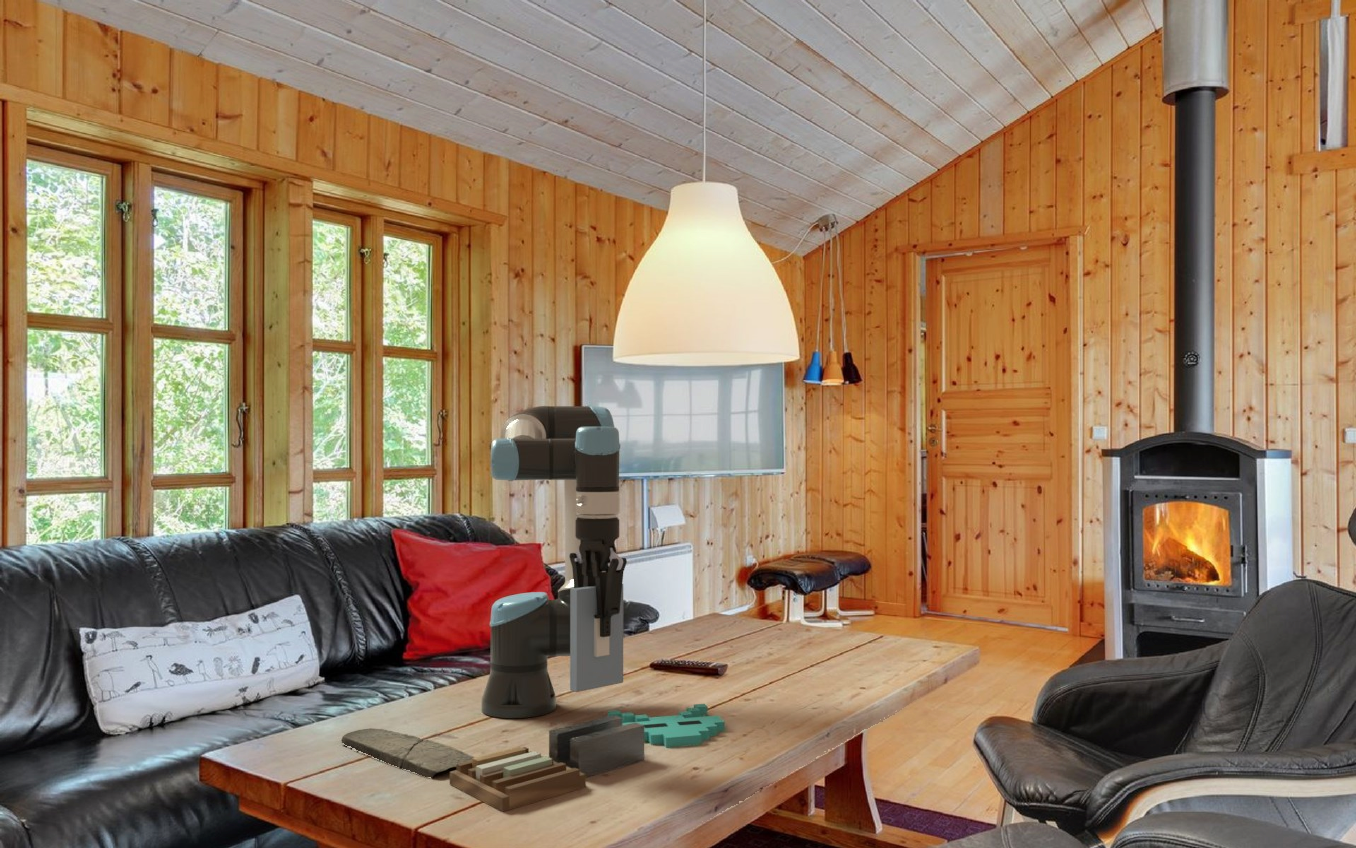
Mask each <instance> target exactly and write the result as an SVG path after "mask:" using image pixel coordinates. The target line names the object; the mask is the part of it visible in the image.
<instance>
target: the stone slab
mask: <svg viewBox="0 0 1356 848" xmlns="http://www.w3.org/2000/svg"><path fill="white" fill-rule="evenodd" d="M340 742H341V743H344V744H345V745H347V746H351V747H352V748H355V749H356V750H358V751H361V752H363V753H366V754H368V755H371V756H373V757H374V758H377V759H379V760H382V761H384V762H386V763H389V764H391V765H390V766H392V765H394V766H397V767H402V768H403V769H406V770H410V771H411V772H415V773H417V774H419V775H422V776H425V777H431V778H434V776H435V775H436V774H438V773H441V772H444V771H447V770H450V769H452V768H456V766H457V764H458V763H462V762H466V761H470V760H472V758H476V756H475V757H474V756H473V755H469V754H468V753H465V752H463V751H461V750H458V749H457V748H455V747H452V746H450V745H447V744H444V743H440V742H437V741H434V740H430V739H422V738H420V737H418V736H415V735H410V734H407V733H401V732H396V731H392V730H388V729H383V728H381V729H380V728H372V727H371V728H364V729H358V730H354V731H350V732H347V733H345V734H344V735H343V736H342V737H341V741H340ZM386 763H385V764H386ZM394 766H393V767H394ZM397 767H396V768H397ZM402 768H401V769H402ZM403 769H402V770H403ZM406 770H405V771H406ZM411 772H410V773H411ZM417 774H416V775H417ZM419 775H418V776H419ZM422 776H421V777H422ZM425 777H424V778H425Z"/></svg>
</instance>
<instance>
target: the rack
mask: <svg viewBox="0 0 1356 848" xmlns="http://www.w3.org/2000/svg"><path fill="white" fill-rule="evenodd" d="M522 748H524V749H526V753H529V752H532V751H529V750H530V749H529V748H528V747H526V746H523V747H522ZM536 752H537V753H540V752H538V751H536ZM540 754H541V753H540ZM542 757H544V756H543V755H542V754H541V758H542ZM547 757H548V758H550V757H549V756H547ZM551 759H552V765H550V766H546V767H543V768H539V769H535V770H532V771H528V772H524V773H520V774H517V775H513V776H509V777H506V778H503V769H502V770H498V771H494V772H490V773H486V774H482V775H480V781H478V780H476V768H472V760H470V761H466V762H462V763H458V764H457V766H456V767H455V768H456V769H455V770H452V771H449V785H450V784H451V785H450V786H452V787H454V788H456V787H457V788H456V789H457V790H460V791H461V790H462V791H461V792H463V791H464V793H466V794H468V795H469V796H471V797H473V796H474V797H473V798H475V799H478V800H479V801H481V802H483V803H484V804H487V805H489V806H491V807H493V808H494V809H496V810H498V811H500V812H507V811H509V810H513V809H516V808H519V807H523V806H526V805H530V804H533V803H537V802H540V801H543V800H547V799H550V798H554V797H557V796H561V795H563V794H567V793H570V792H573V791H577V790H580V789H583V788H586V786H587V785H586V784H587V783H586V781H587V780H586V779H587V777H586V774H584V773H581V772H580V770H579V769H577V768H573V769H572V768H569V767H567V766H566V764H565V763H562V762H561V763H557V762H555V761H553V758H551Z"/></svg>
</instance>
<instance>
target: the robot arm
mask: <svg viewBox="0 0 1356 848" xmlns="http://www.w3.org/2000/svg"><path fill="white" fill-rule="evenodd" d="M490 446H491V447H490V468H491V469H490V474H491V475H490V476H491V477H492V478H493V479H494V480H497V481H508V482H513V481H536V480H537V481H547V480H548V481H563V482H564V483H563V484H564V487H563V488H564V577H565V580H564V584H563V585H562V586H561V587H560V588H559V589H558V590H557V598H556V599H549V596H548V593H547V592H544V591H536V592H535V591H531V592H524V593H517V594H513V595H508V596H505V597H500V599H497V600H496V601H495V602H494V603H493V604H492V605H491V612H490V621H489V627H490V668H489V669H490V672H489V676H488V678H487V682H486V685H485V688H484V692H483V695H482V698H481V711H482V713H483V714H485V715H487V716H490V717H494V718H500V719H501V718H503V719H524V718H525V719H526V718H533V717H534V718H535V717H539V716H543V715H547V714H549V713H551V712H553V711H554V710H556V707H557V695H556V692H555V688H554V687H553V683H552V680H551V677H550V674H549V671H548V670H549V669H548V659H549V657H550V658H551V657H570V589H573V588H581V587H589V586H596V598H597V615H594V617H595V618H594V656H595V657H599V656H605V655H609V636H610V634H611V628H610V627H611V616H613V615H615V614H619V612H620V602H621V592H622V584H623V579H624V571H625V568H626V566H627V563H628V562H627V558H626V557H620V556H619V555H618V554H617V548H616V544H615V543H616V541H617V539H619V538H620V519H619V517H617V516H618V515H619V514H620V513H621V511H620V506H621V505H620V504H621V502H620V497H621V495H620V449H621V444H620V431H619V429H618V428H617V427H615V423H614V419H613V416H612V413H611V411H610V410H609V409H608V408H607V407H604V406H592V405H587V406H586V405H584V406H583V405H582V406H578V405H577V406H576V405H574V406H569V405H566V406H565V405H562V406H561V405H555V406H554V405H551V406H550V405H540V406H533V407H529V408H526V409H523V410H520V411H518V412H516V413H514V414H512V415H511V416H510V417H508V419H506V421H505V422H504V424H503V425H502V427H501V430H500V437H499V438H495V439H493V440H492V442H491V445H490Z"/></svg>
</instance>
